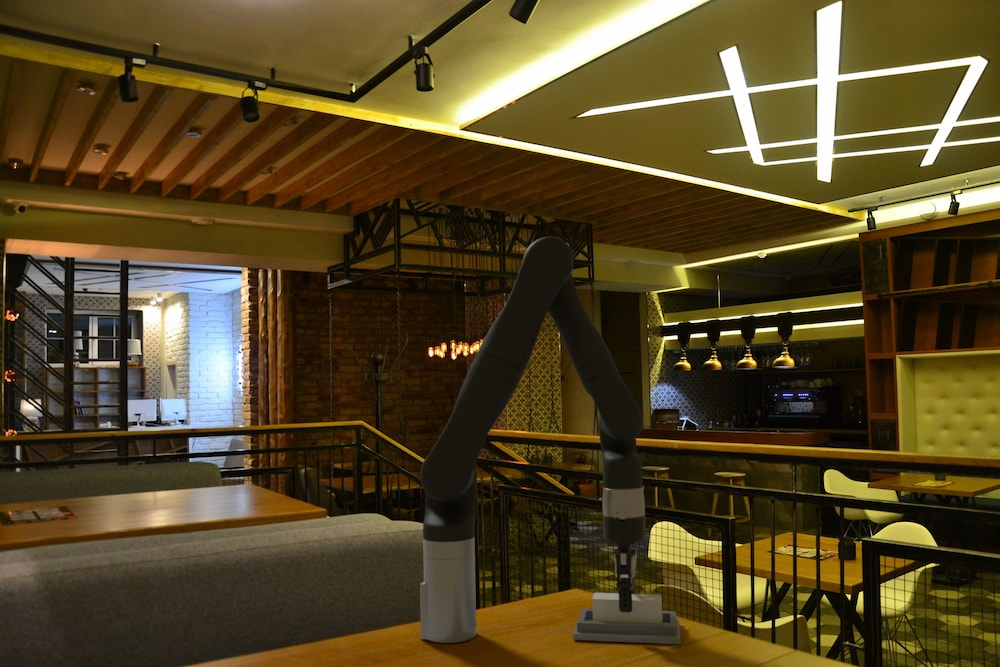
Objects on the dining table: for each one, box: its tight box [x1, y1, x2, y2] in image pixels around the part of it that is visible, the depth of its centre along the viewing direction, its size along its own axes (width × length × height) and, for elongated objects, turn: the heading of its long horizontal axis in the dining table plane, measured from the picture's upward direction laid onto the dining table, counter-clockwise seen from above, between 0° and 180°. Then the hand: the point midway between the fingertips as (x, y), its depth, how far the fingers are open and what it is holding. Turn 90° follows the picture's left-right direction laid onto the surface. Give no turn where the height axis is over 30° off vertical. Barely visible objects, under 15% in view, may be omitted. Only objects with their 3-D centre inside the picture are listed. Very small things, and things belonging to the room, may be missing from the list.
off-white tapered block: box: [591, 592, 663, 624], centre depth 138 cm, size 4×12×5 cm, turn 78°
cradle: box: [573, 607, 682, 645], centre depth 137 cm, size 12×18×2 cm, turn 79°
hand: (626, 605), depth 138 cm, fingers open, 8 cm apart
